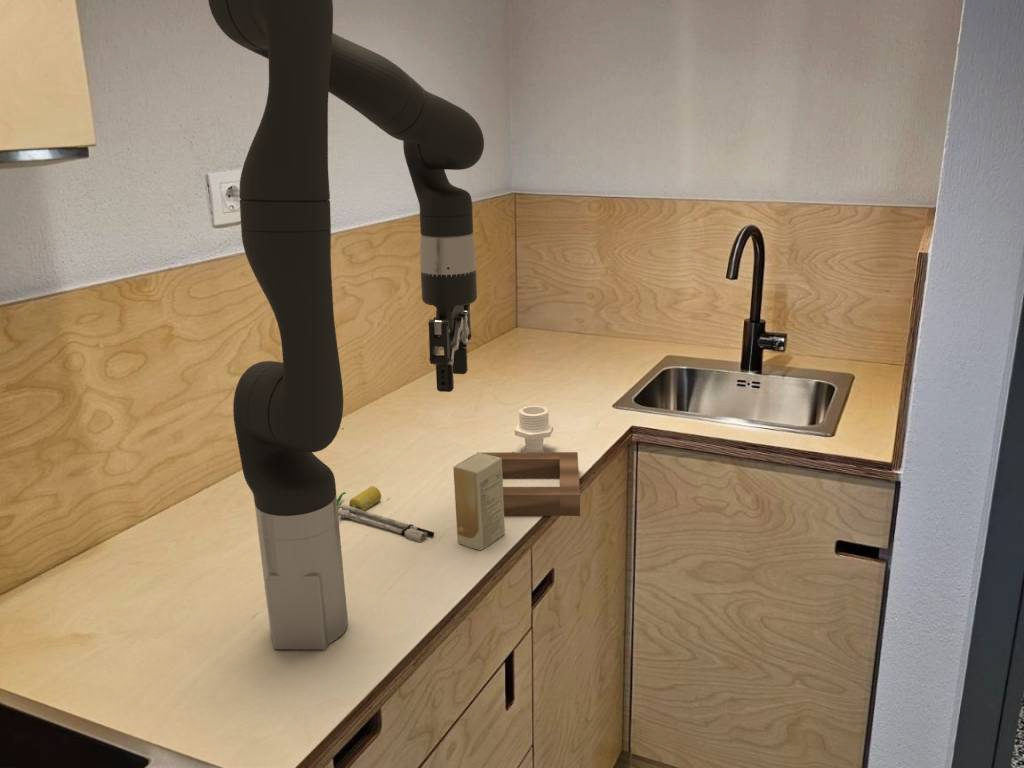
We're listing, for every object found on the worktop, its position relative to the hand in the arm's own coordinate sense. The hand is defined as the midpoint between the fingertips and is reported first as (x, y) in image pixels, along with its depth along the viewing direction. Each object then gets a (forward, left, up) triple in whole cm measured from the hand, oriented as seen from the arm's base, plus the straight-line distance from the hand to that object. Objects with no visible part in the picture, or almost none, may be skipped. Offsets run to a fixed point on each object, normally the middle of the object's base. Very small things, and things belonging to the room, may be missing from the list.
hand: (452, 381), depth 126 cm
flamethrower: (+5, +16, -24) cm, 29 cm away
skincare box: (-3, -3, -23) cm, 24 cm away
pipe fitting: (+30, -10, -23) cm, 39 cm away
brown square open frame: (+13, -9, -23) cm, 28 cm away
